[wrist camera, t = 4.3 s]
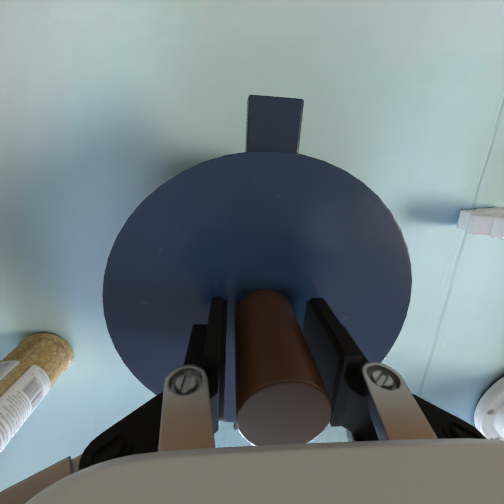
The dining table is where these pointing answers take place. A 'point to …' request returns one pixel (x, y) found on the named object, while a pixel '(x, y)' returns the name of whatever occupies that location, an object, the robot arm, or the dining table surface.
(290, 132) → the pot
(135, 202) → the dining table surface
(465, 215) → the white marshmallow cluster
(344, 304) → the pot lid
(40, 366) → the sprinkles bottle
